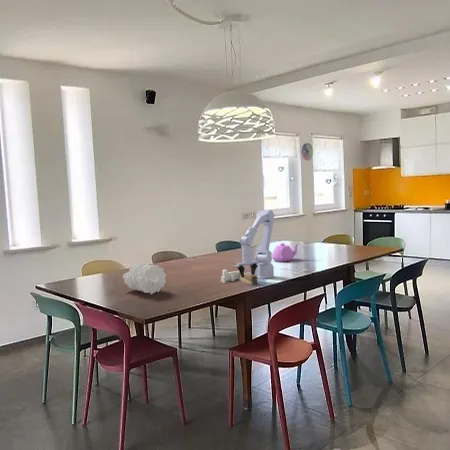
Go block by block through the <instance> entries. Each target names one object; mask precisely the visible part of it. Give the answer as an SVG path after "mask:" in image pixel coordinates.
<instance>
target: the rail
mask: <svg viewBox="0 0 450 450" xmlns="http://www.w3.org/2000/svg"><path fill="white" fill-rule="evenodd" d="M238 280H239V281H238V282H242V283H245V284H249V285H258V278H257V275H255V274H254V275H251V274H247V272H245V273H244V278H242V277H241V274H240V273H239V279H238Z"/></svg>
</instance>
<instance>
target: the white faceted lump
mask: <svg viewBox="0 0 450 450" xmlns="http://www.w3.org/2000/svg"><path fill="white" fill-rule="evenodd" d="M166 276H167V274H166V273H165V271H164V268H162V267H160V266H159V264H157V265H154V264H148V263H147V262H143V261H140V262H138V263H137V262H135V263H134V264H133V265H132V266H130V267H129V270H128V272H126V273H124V274H123V275H122V279H123V280H124V284H125V285H127V286H128V289H134V290H135V291H138V292H139V291H140V292H143V293H145V294H146V293H148V294H150V295H153V294H155V293H156V292H157V293H159V292H160V290H161V289H162V288H164V287H165V284H166V283H167V282H166Z"/></svg>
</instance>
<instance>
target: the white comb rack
mask: <svg viewBox="0 0 450 450" xmlns="http://www.w3.org/2000/svg"><path fill="white" fill-rule="evenodd" d="M221 272H222V276H220V282H221V283H223V284H226V282H229V281H230V282H235V280H239V273H240V271H239V270H235V271H229V272H228V269H222V271H221ZM244 273H247V274H251V272H248V271H247V272H245V270H244Z"/></svg>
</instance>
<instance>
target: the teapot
mask: <svg viewBox="0 0 450 450" xmlns="http://www.w3.org/2000/svg"><path fill="white" fill-rule="evenodd" d="M298 245H299V243H296V244H294V247H293V248H294V249H293V250H292V248H291V247H290V245H287V244H285V243H284V242H281V243H279V245H276V246H275V247H274V249H273V251H272V252H271V253H272V261H274V262H278V263H280V262H286V261H288V262H290V261H292V260H294V257H295V256H297V255H296V254H297V253H298V252H297V251H298V250H297V249H298Z"/></svg>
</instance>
